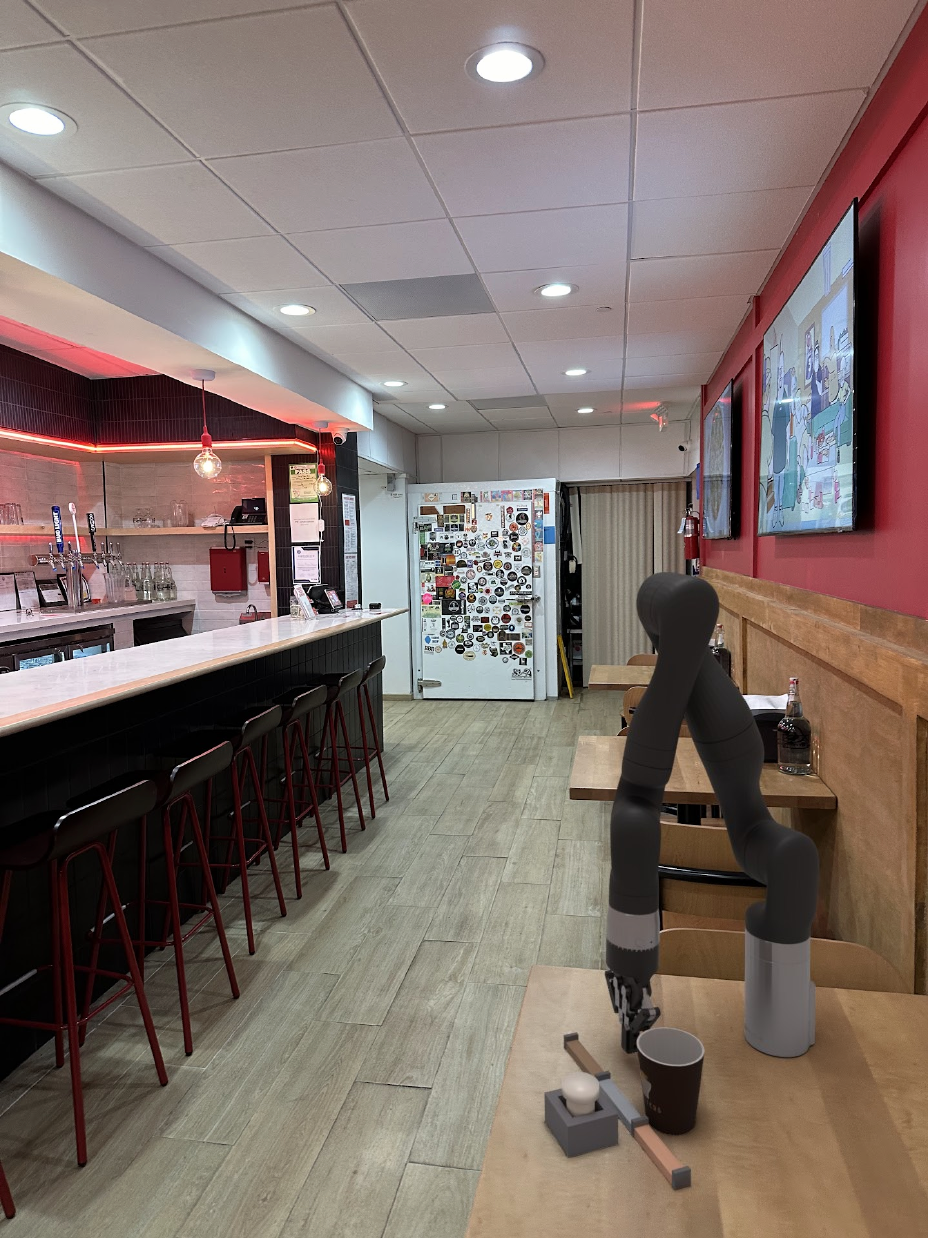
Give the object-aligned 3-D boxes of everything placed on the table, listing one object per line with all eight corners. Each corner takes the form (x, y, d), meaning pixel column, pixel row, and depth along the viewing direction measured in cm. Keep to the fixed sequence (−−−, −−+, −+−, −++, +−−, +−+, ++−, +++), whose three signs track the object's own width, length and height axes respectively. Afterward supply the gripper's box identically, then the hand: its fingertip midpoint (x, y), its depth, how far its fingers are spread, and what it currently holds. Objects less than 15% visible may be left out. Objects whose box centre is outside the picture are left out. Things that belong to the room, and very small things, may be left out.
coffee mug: (706, 1146, 104) (706, 1069, 103) (636, 1137, 106) (636, 1062, 105) (700, 1087, 115) (700, 1018, 114) (637, 1080, 117) (637, 1012, 116)
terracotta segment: (646, 1130, 107) (646, 1115, 107) (690, 1185, 97) (690, 1169, 97) (631, 1134, 106) (631, 1119, 106) (674, 1190, 97) (674, 1174, 97)
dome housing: (592, 1109, 111) (592, 1081, 111) (618, 1144, 104) (618, 1114, 104) (544, 1121, 109) (544, 1092, 109) (568, 1158, 102) (567, 1127, 102)
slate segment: (608, 1084, 116) (608, 1070, 116) (646, 1130, 107) (646, 1115, 107) (594, 1087, 116) (594, 1074, 115) (631, 1134, 106) (631, 1119, 106)
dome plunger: (588, 1112, 110) (588, 1068, 109) (606, 1135, 105) (606, 1090, 105) (555, 1120, 108) (555, 1076, 108) (572, 1145, 104) (571, 1099, 103)
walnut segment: (576, 1045, 126) (576, 1032, 126) (608, 1084, 116) (608, 1070, 116) (563, 1048, 125) (563, 1035, 125) (594, 1087, 116) (594, 1074, 115)
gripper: (680, 953, 114) (677, 1073, 115) (633, 913, 126) (631, 1022, 128) (631, 960, 112) (628, 1083, 113) (588, 919, 124) (586, 1029, 126)
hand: (630, 1050), depth 120 cm, fingers closed
